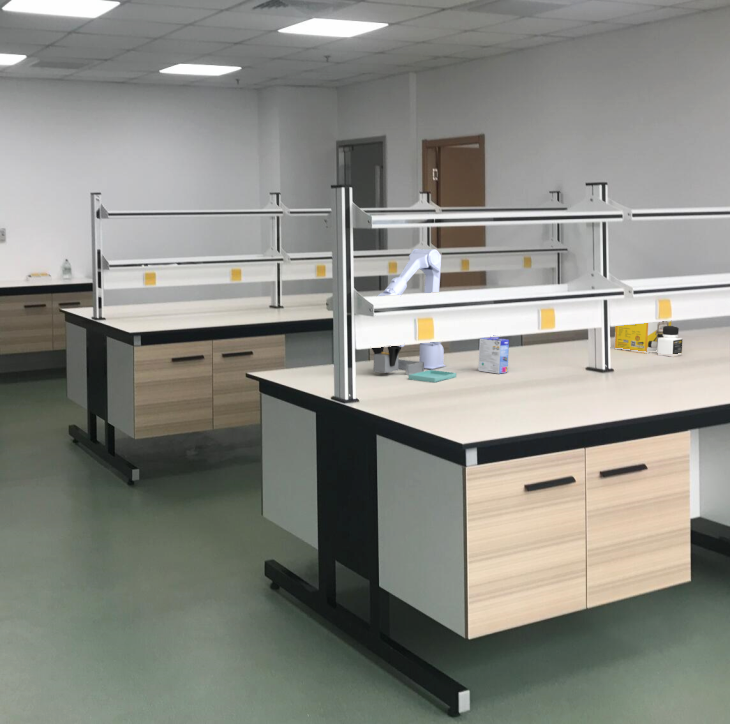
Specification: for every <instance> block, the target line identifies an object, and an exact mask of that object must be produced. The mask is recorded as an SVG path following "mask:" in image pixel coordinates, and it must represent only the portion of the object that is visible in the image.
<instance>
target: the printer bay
mask: <svg viewBox="0 0 730 724" xmlns="http://www.w3.org/2000/svg"><path fill="white" fill-rule="evenodd" d="M398 370H404V371H405V370H406V371H405V375H407V376H409V375H411V374H415V373H419V372H423V371H425V368H424V362H419V361H418V360H411V359H410V360H408V359H401V358H400V359H399V358H398Z"/></svg>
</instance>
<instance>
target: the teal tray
mask: <svg viewBox="0 0 730 724" xmlns="http://www.w3.org/2000/svg"><path fill="white" fill-rule="evenodd" d="M454 378H457V372H450V371H445V370H436V369H428V370H424V371H423V372H419V373H415V374H411V375H408V380H414V381H419V382H426V383H428V382H429V383H438V382H442V381H446V380H450V379H454Z"/></svg>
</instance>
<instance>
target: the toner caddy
mask: <svg viewBox="0 0 730 724" xmlns="http://www.w3.org/2000/svg"><path fill="white" fill-rule="evenodd" d="M398 359H399V355H398V356H397V359H396V362H395V366H390V358H389V351H383V352H381V353H379V354H374V353H373V372H374V373H375V372H376V373H384V374H385V373H391V372H396V371H399V369H398Z"/></svg>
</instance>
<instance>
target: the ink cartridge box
mask: <svg viewBox="0 0 730 724" xmlns="http://www.w3.org/2000/svg"><path fill="white" fill-rule="evenodd" d="M509 344H510V340H509V339H508V338H507V339H506V338H500V337H491V336H490V337H480V338H479V346H478V348H479V349H478V351H479V352H478V370H477V371H479V372H485V373H491V374H492V373H493V374H498V375H499V374H507V373H506V372H509V348H510V347H509V346H510V345H509Z"/></svg>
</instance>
